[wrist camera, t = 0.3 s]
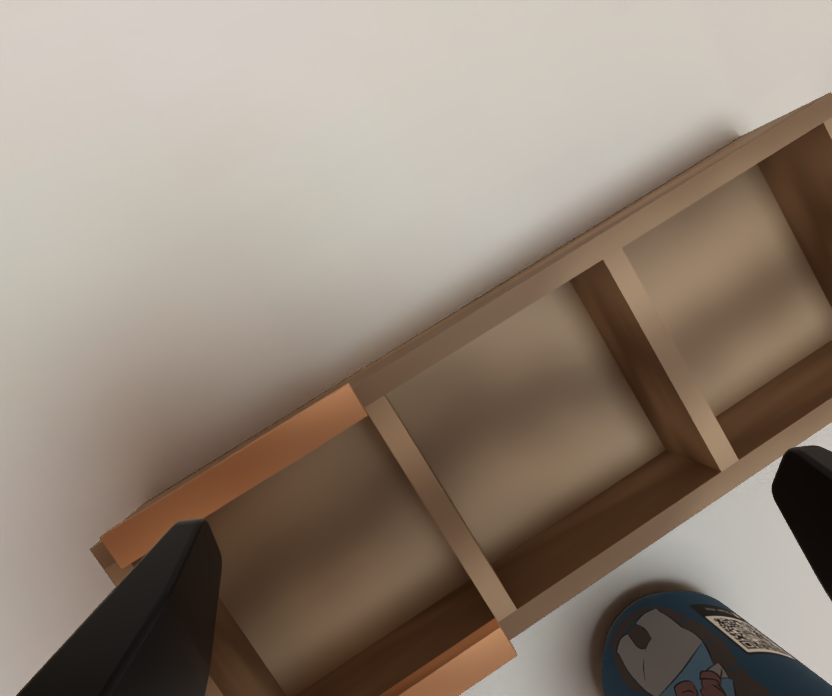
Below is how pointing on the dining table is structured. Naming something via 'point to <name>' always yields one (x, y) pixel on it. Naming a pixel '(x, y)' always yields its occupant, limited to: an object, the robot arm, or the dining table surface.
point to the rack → (523, 437)
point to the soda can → (697, 653)
